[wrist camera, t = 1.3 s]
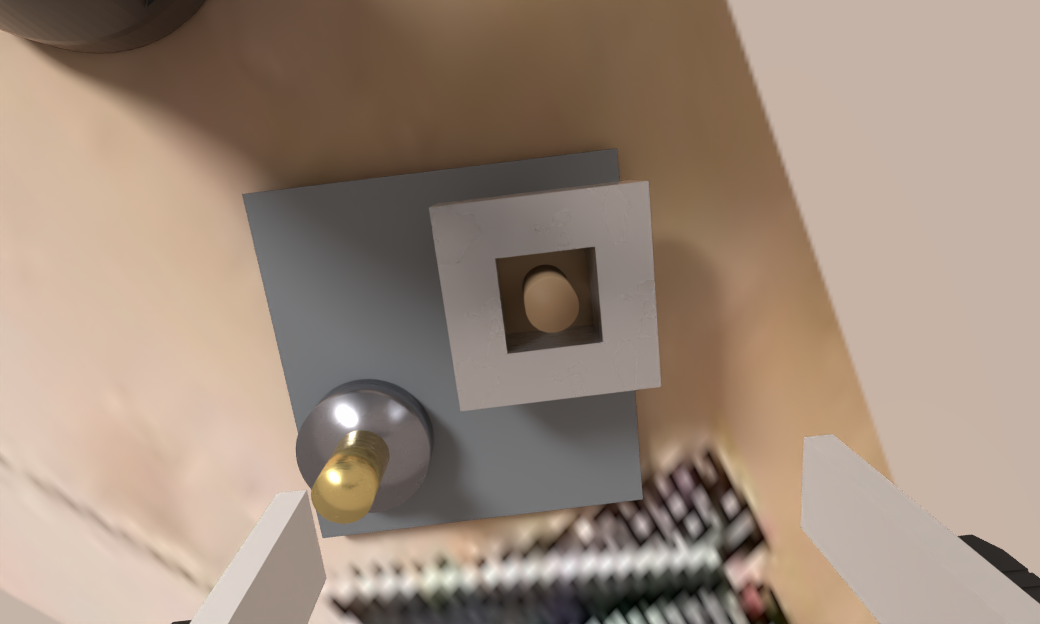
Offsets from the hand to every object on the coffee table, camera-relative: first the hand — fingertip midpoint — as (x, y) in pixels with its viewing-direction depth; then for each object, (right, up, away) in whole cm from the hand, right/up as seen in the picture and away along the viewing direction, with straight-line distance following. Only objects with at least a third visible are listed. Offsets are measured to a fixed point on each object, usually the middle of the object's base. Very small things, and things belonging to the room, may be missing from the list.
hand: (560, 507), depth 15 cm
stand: (0, +7, +15) cm, 17 cm away
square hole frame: (0, +6, +12) cm, 14 cm away
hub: (-9, -2, +17) cm, 19 cm away
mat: (-4, +3, +17) cm, 18 cm away
